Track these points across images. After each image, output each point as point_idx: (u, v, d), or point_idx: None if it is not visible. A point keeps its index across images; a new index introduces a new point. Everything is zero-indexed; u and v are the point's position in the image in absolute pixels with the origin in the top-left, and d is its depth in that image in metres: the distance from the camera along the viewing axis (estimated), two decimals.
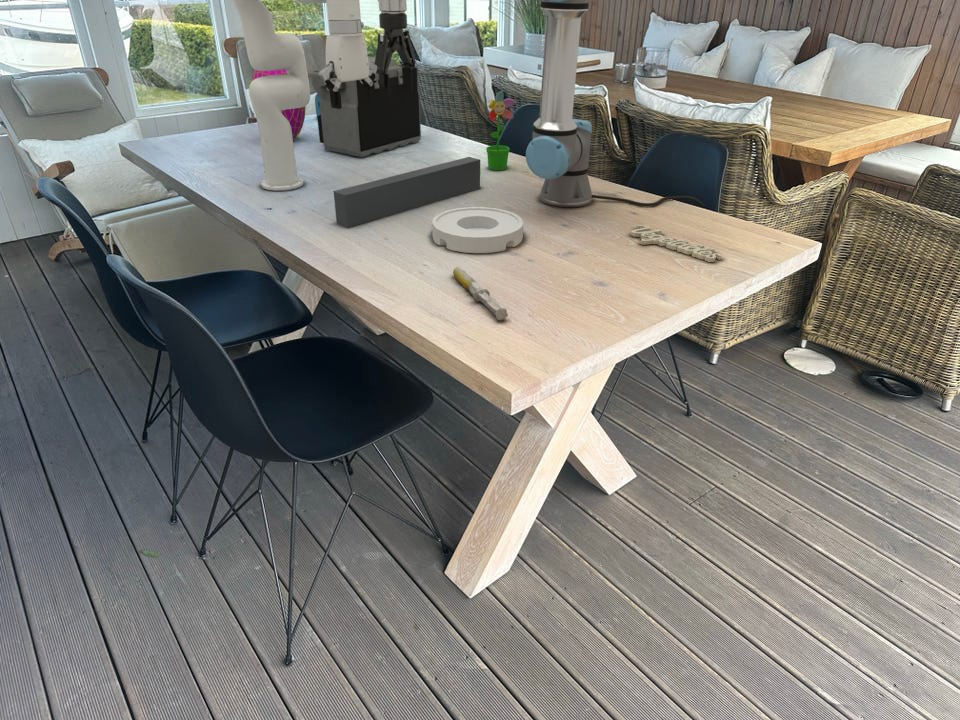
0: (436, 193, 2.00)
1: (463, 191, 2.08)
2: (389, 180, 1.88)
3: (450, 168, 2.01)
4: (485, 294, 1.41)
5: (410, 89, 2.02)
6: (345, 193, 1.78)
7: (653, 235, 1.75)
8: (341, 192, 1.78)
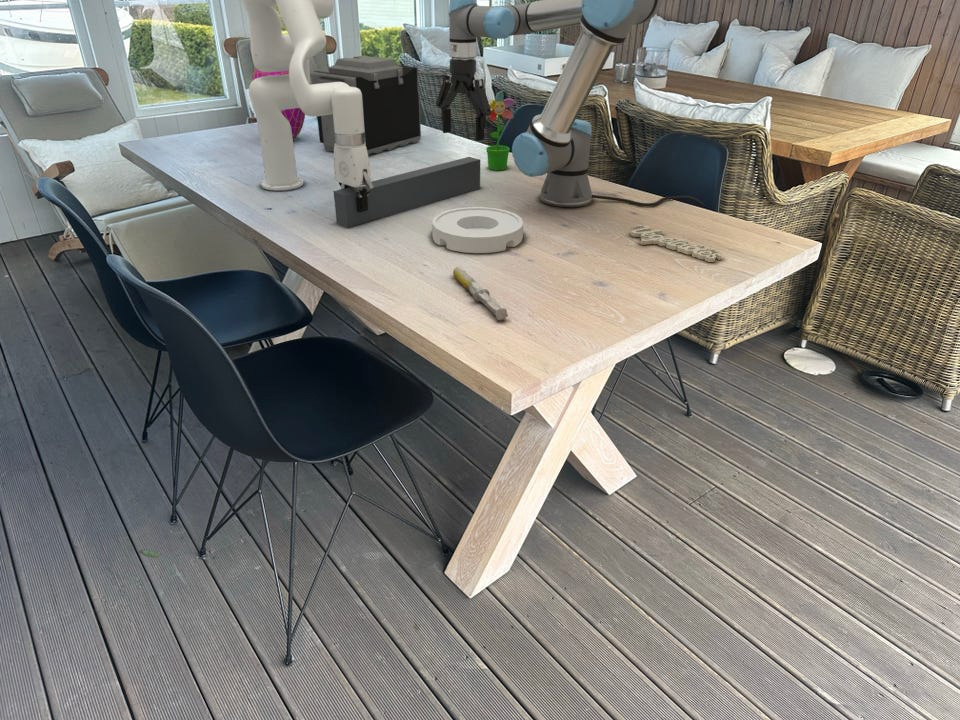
0: (436, 193, 2.00)
1: (463, 191, 2.08)
2: (389, 180, 1.88)
3: (450, 168, 2.01)
4: (485, 294, 1.41)
5: (450, 129, 2.07)
6: (345, 192, 1.78)
7: (653, 235, 1.75)
8: (341, 192, 1.78)
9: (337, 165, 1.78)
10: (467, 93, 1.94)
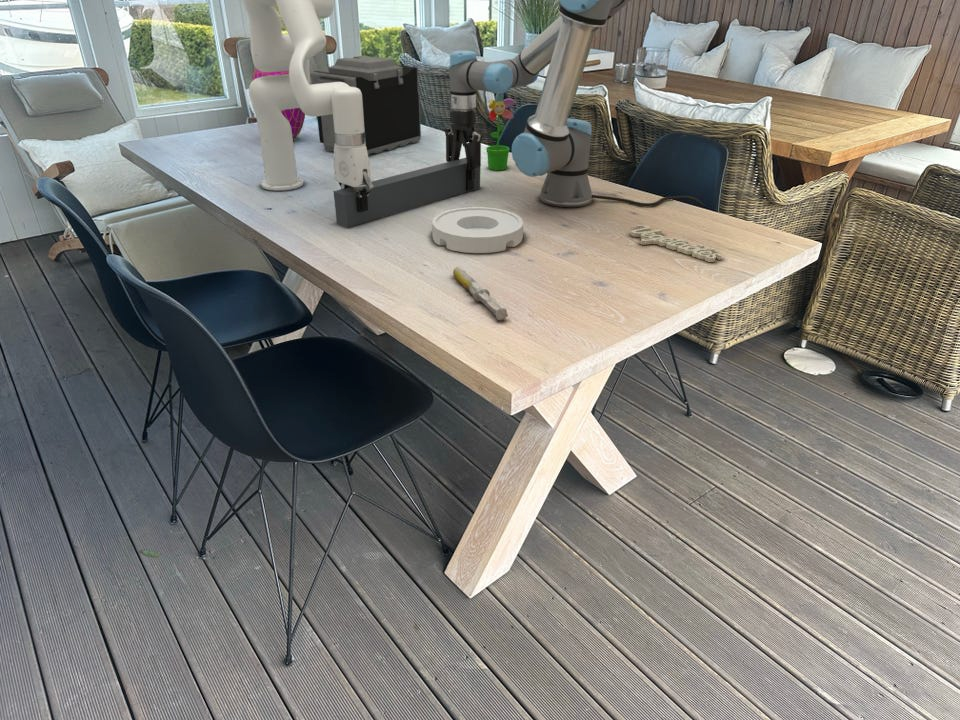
0: (437, 193, 2.00)
1: (463, 191, 2.08)
2: (389, 180, 1.88)
3: (450, 168, 2.01)
4: (485, 294, 1.41)
5: None
6: (345, 192, 1.78)
7: (653, 235, 1.75)
8: (341, 192, 1.78)
9: (337, 165, 1.78)
10: (464, 144, 2.02)
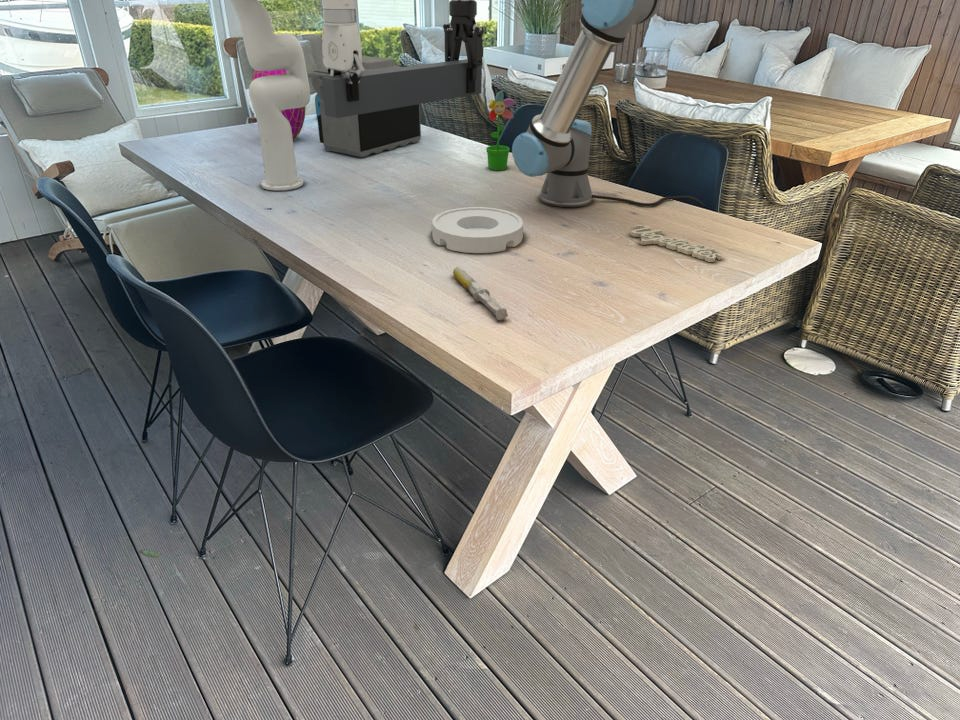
0: (434, 92, 1.86)
1: (463, 94, 1.94)
2: (382, 71, 1.74)
3: (449, 66, 1.86)
4: (485, 294, 1.41)
5: None
6: (334, 78, 1.64)
7: (653, 235, 1.75)
8: (329, 78, 1.64)
9: (325, 48, 1.64)
10: (464, 39, 1.87)
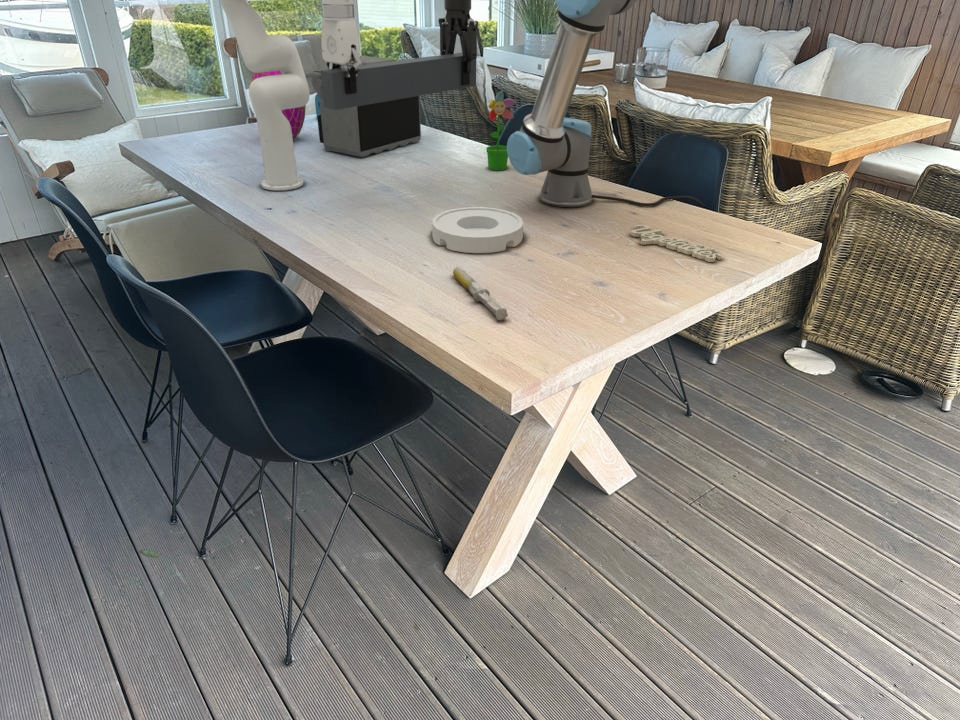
0: (430, 85, 1.92)
1: (458, 87, 2.00)
2: (379, 64, 1.80)
3: (444, 59, 1.92)
4: (485, 294, 1.41)
5: None
6: (333, 71, 1.70)
7: (653, 235, 1.75)
8: (328, 71, 1.70)
9: (324, 42, 1.70)
10: (459, 33, 1.93)
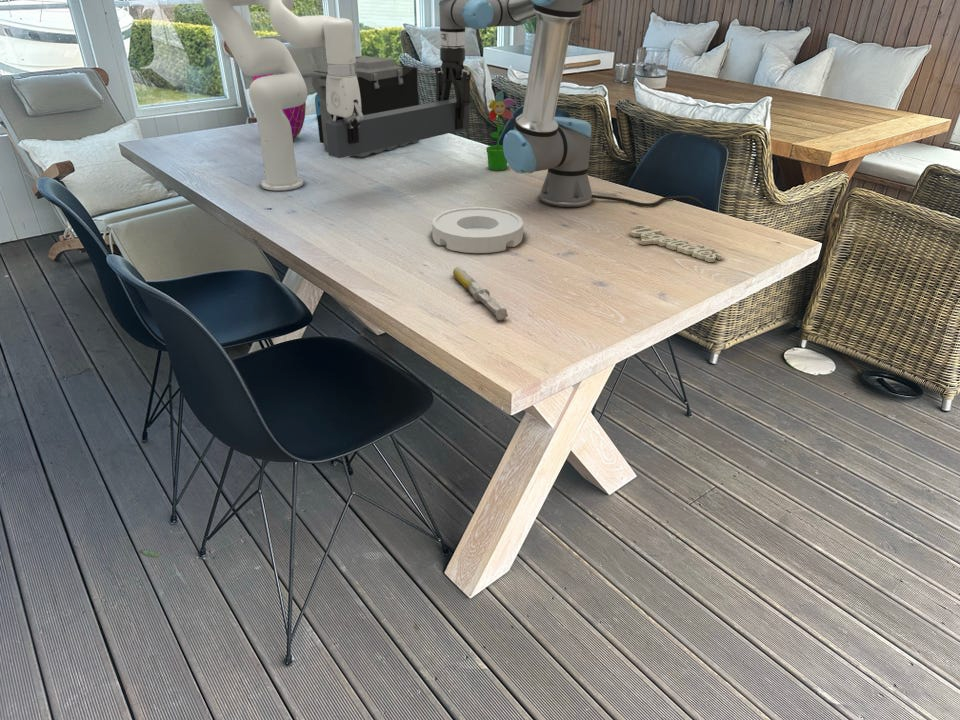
0: (426, 130, 2.06)
1: (452, 130, 2.14)
2: (379, 114, 1.94)
3: (439, 106, 2.07)
4: (485, 294, 1.41)
5: None
6: (337, 123, 1.84)
7: (653, 235, 1.75)
8: (332, 123, 1.84)
9: (329, 97, 1.84)
10: (453, 82, 2.08)
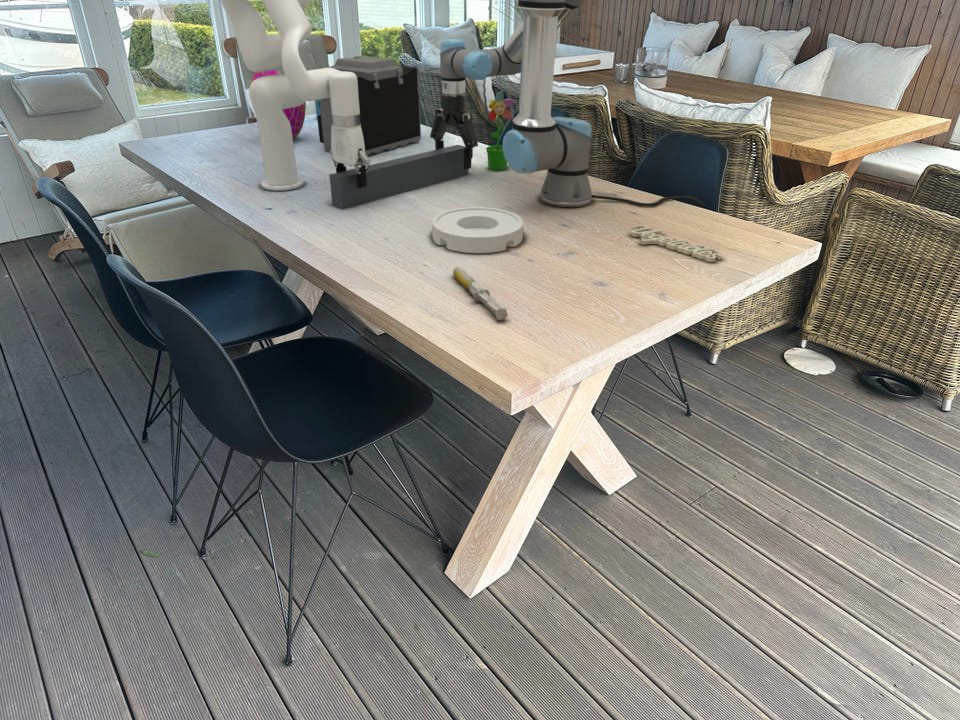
0: (427, 178, 2.14)
1: (452, 177, 2.22)
2: (381, 165, 2.02)
3: (439, 155, 2.14)
4: (485, 294, 1.41)
5: None
6: (340, 176, 1.91)
7: (653, 235, 1.75)
8: (336, 175, 1.92)
9: (334, 145, 1.91)
10: (456, 126, 2.14)
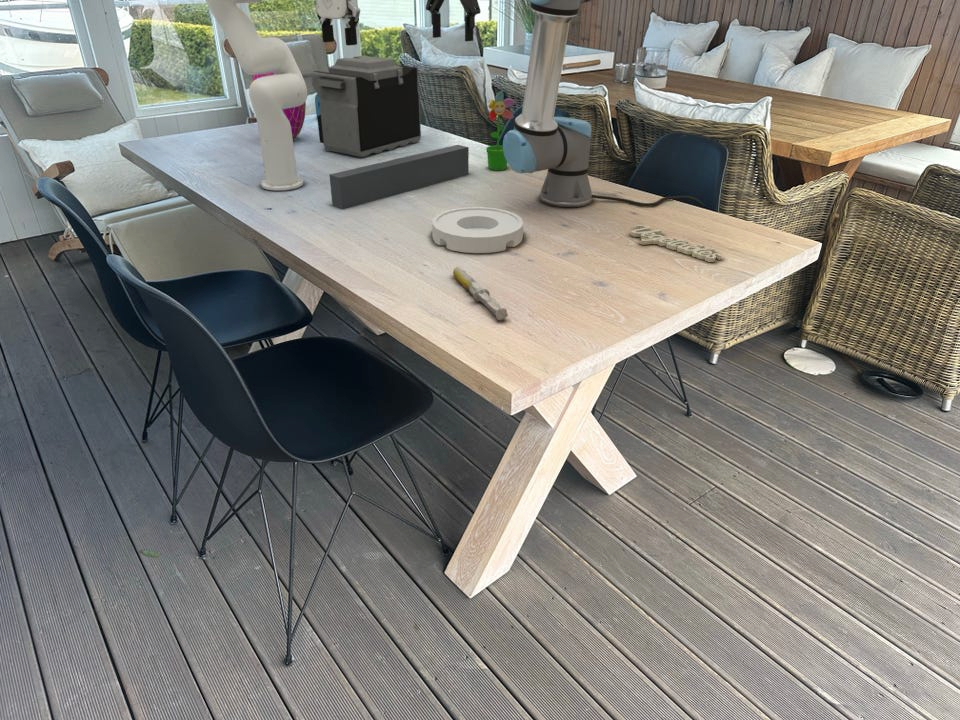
0: (427, 178, 2.14)
1: (452, 177, 2.22)
2: (381, 165, 2.02)
3: (439, 155, 2.14)
4: (485, 294, 1.41)
5: (440, 34, 2.08)
6: (340, 176, 1.91)
7: (653, 235, 1.75)
8: (336, 175, 1.92)
9: None
10: None
